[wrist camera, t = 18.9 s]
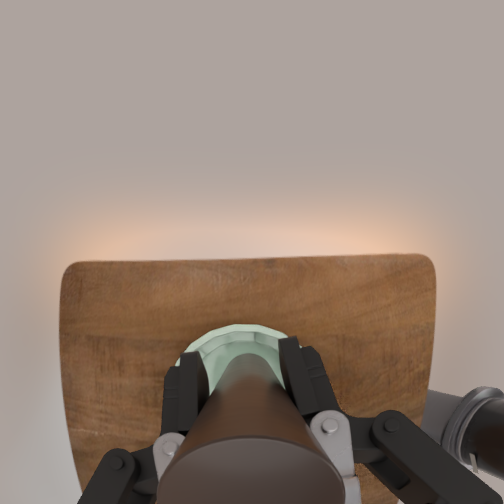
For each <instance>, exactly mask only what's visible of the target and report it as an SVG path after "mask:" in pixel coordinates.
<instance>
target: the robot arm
mask: <svg viewBox="0 0 504 504" xmlns="http://www.w3.org/2000/svg"><path fill="white" fill-rule="evenodd" d="M278 349H279V363H280V369H281V374H282V378H283V382H284V387H285V390H286V392H287V394H288V395H289V397H290V398H291V400H292V402H293V403H294V405H295V406H296V408H297V409H298V411H299V413H300V414H301V416H302V417H303V419H304V420H305V422H306V423H307V425H308V426H309V428H310V429H311V431H312V433H313V434H314V436H315V437H316V439H317V440H318V442H319V443H320V445H321V446H322V448H323V449H324V451H325V452H326V454H327V455H328V457H329V458H330V459H331V461H332V462H333V464H334V465H335V467H336V468H337V470H338V471H339V473H340V475H341V477H342V479H343V482H344V486H345V493H346V498H345V504H361V494H360V483H359V479H358V476H357V475H356V474H355V470H354V463H363V464H364V465H365V466H366V467H367V468H368V469H369V470H370V471H371V472H372V473H373V474H374V475H375V476H376V477H377V478H378V479H379V480H380V481H381V482H382V483H383V484H384V485H385V486H386V487H387V488H388V489H389V490H390V491H391V492H392V493H393V494H395V495H396V496H397V497H398V498H399V499H400V500H401V501H402V502H403V503H404V504H503V500H502V498H501V496H500V495H499V494H498V493H497V492H495V491H494V490H493V489H492V488H490V487H489V486H488V485H487V484H485V483H484V482H483V481H482V480H481V479H479V478H478V477H477V476H476V475H474V474H473V473H472V472H471V471H470V470H468V469H467V468H466V467H465V466H464V465H462V464H461V463H460V462H459V461H461V462H462V463H464V464H466V465H471V466H472V467H473V471H474V472H475V473H478V470H477V469H479V470H481V471H483V472H485V473H488V474H490V475H492V476H494V477H497V478H499V479H501V480H504V400H502V399H499V398H494V397H489V398H486V399H484V400H482V401H480V402H479V403H478V404H477V405H476V406H475V407H474V408H473V409H472V410H471V411H470V413H469V414H468V416H467V417H466V419H465V421H464V422H463V424H462V426H461V429H460V431H459V434H458V437H457V442H456V455H457V458H458V459H459V461H458V460H456V459H455V458H454V457H453V456H452V455H450V454H449V453H448V452H447V451H446V450H445V449H443V448H442V447H441V446H440V445H439V444H437V443H436V442H435V441H434V440H433V439H432V438H430V437H429V436H428V435H427V434H426V433H425V432H423V431H422V430H421V429H420V428H419V427H418V426H416V425H415V424H414V423H413V422H412V421H411V420H409V419H408V418H407V417H406V416H405V415H404V414H402V413H401V412H399V411H395V410H388V411H384V412H382V413H380V414H379V415H378V416H377V417H376V418H357V417H352V416H349V415H347V414H345V413H344V412H343V411H342V410H341V409H340V407H339V406H338V403H337V401H336V398H335V395H334V392H333V390H332V387H331V384H330V382H329V379H328V376H327V374H326V371H325V368H324V366H323V363H322V360H321V357H320V355H319V353H318V352H317V351H316V350H315V349H314V348H312V347H311V346H307V347H303V348H300V346H299V342H298V339H297V337H296V336H292V337H286V338H281V339H278ZM209 396H210V391H209V379H208V375H207V371H206V369H205V366H204V363H203V360H202V358H201V355H200V352H199V351H193V352H184V353H181V354H180V366H173V367H170V368H169V370H168V372H167V374H166V376H165V380H164V393H163V398H164V399H163V407H162V424H161V433H160V436H159V438H158V439H157V440H156V441H155V443H154V444H153V445H151V446H150V447H147V448H145V449H141V450H138V451H135V452H131V453H129V452H128V451H126V450H124V449H120V448H116V449H112V450H110V451H108V452H107V453H106V454H105V455H104V457H103V458H102V460H101V462H100V464H99V465H98V467H97V469H96V471H95V472H94V474H93V476H92V478H91V480H90V481H89V483H88V485H87V487H86V489H85V490H84V492H83V494H82V496H81V498H80V499H79V501H78V503H77V504H155V502H156V500H157V496H156V494H157V487H158V484H159V481H160V478H161V476H162V474H163V473H164V471H165V469H166V467H167V466H168V464H169V463H170V461H171V459H172V458H173V456H174V455H175V453H176V451H177V450H178V448H179V447H180V445H181V443H182V442H183V440H184V438H185V437H186V435H187V433H188V432H189V430H190V428H191V427H192V425H193V423H194V422H195V420H196V418H197V417H198V415H199V413H200V412H201V410H202V408H203V407H204V405H205V403H206V402H207V400H208V398H209Z"/></svg>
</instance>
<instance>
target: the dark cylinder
mask: <svg viewBox="0 0 504 504" xmlns="http://www.w3.org/2000/svg"><path fill="white" fill-rule="evenodd" d="M156 496H157V504H345V498H346V493H345V486H344V482H343V479H342V477H341V475H340V473H339V471H338V470H337V468H336V467H335V465H334V464H333V462H332V461H331V459H330V458H329V457H328V455H327V454H326V452H325V451H324V449H323V448H322V446H321V445H320V443H319V442H318V440H317V439H316V437H315V436H314V434H313V433H312V431H311V429H310V428H309V426H308V425H307V423H306V422H305V420H304V419H303V417H302V416H301V414H300V413H299V411H298V409H297V408H296V406H295V405H294V403H293V402H292V400H291V398H290V397H289V395H288V394H287V392H286V390H285V389H284V387H283V386H282V384H281V382H280V381H279V379H278V378H277V376H276V374H275V373H274V371H273V370H272V368H271V366H270V365H269V363H268V362H267V361H266V360H265V359H264V358H263V357H261V356H259V355H257V354H253V353H245V354H241V355H238V356H236V357H235V358H233V359H232V360H231V361H230V362H229V364H228V365H227V367H226V369H225V371H224V372H223V374H222V376H221V378H220V379H219V381H218V383H217V384H216V386H215V388H214V390H213V391H212V393H211V395H210V396H209V398H208V400H207V402H206V403H205V405H204V407H203V408H202V410H201V412H200V413H199V415H198V417H197V418H196V420H195V422H194V423H193V425H192V427H191V428H190V430H189V432H188V433H187V435H186V437H185V438H184V440H183V442H182V443H181V445H180V447H179V448H178V450H177V451H176V453H175V455H174V456H173V458H172V459H171V461H170V463H169V464H168V466H167V467H166V469H165V471H164V473H163V474H162V476H161V478H160V481H159V484H158V487H157V494H156Z"/></svg>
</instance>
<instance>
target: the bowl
mask: <svg viewBox="0 0 504 504" xmlns="http://www.w3.org/2000/svg"><path fill="white" fill-rule="evenodd" d="M286 337H288V336H287V335H285V334H284V333H282V332H280V331H277V330H274V329H271V328H267V327H264V326H261V325H253V324H233V325H229V326H226V327H222V328H219V329H215V330H212V331H209V332H208V333H206V334H205V335H203V336H202V337H200V338H199V339H197V340H196V341H194V342H193V343H191V344H190V345H189V346H188V348H187V349H186V350H185V352H193V351H199V352H200V355H201V358H202V360H203V363H204V366H205V369H206V371H207V375H208V379H209V391H210V395H211V393H212V391H213V390H214V388H215V386H216V384H217V383H218V381H219V379H220V378H221V376H222V374H223V372H224V371H225V369H226V367H227V365H228V364H229V362H230V361H231V360H232V359H233V358H235V357H236V356H238V355H241V354H245V353H253V354H257V355H259V356H261V357H263V358H264V359H265V360H266V361H267V362H268V363H269V365H270V366H271V368H272V370H273V371H274V373H275V374H276V376H277V378H278V379H279V381H280V382H281V384H282V386H283V387H284V382H283V378H282V374H281V369H280V363H279V349H278V339H281V338H286ZM299 346H300V348H302V346H301V345H299ZM175 366H180V358H179V359H178V361H177V363H176V364H175ZM284 389H285V387H284Z"/></svg>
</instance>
